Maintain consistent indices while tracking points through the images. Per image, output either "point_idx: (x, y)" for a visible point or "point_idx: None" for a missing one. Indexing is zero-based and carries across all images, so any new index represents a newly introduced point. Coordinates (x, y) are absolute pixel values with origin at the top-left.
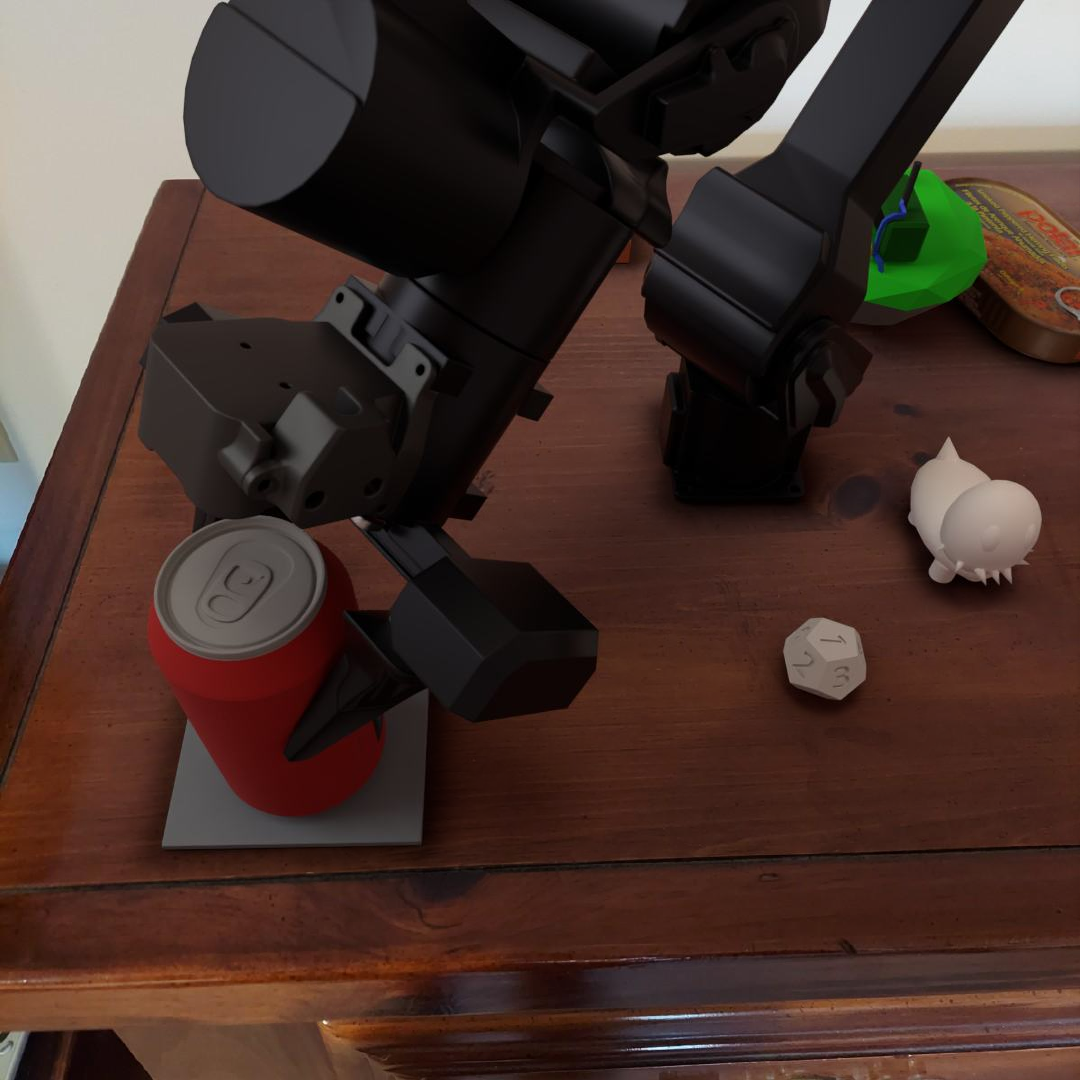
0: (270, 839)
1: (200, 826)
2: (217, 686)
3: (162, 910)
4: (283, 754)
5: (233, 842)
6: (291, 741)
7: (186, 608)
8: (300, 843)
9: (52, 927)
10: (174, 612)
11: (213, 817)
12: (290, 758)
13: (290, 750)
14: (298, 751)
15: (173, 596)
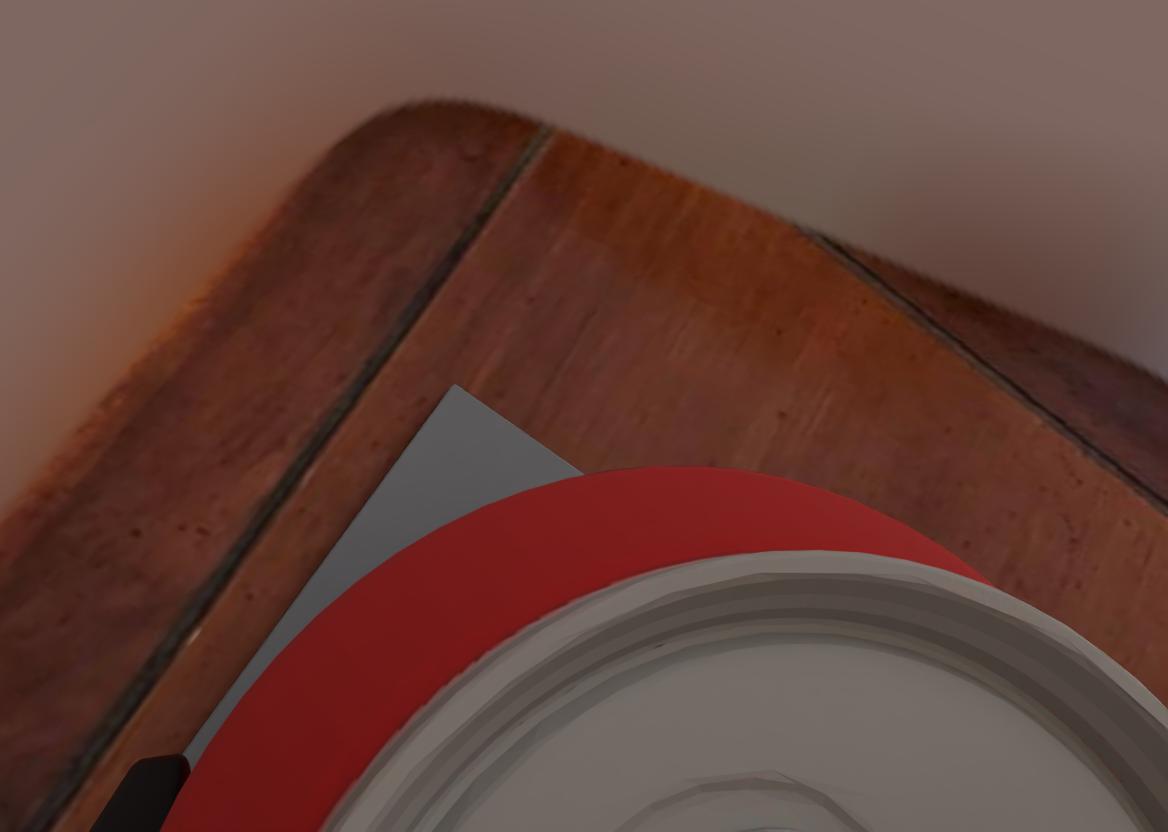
0: (314, 591)
1: (445, 471)
2: (321, 666)
3: (330, 330)
4: (174, 756)
5: (362, 516)
6: (155, 819)
7: (838, 733)
8: (261, 648)
9: (434, 152)
10: (846, 654)
11: (446, 504)
12: (129, 775)
13: (138, 794)
14: (93, 825)
15: (955, 695)
